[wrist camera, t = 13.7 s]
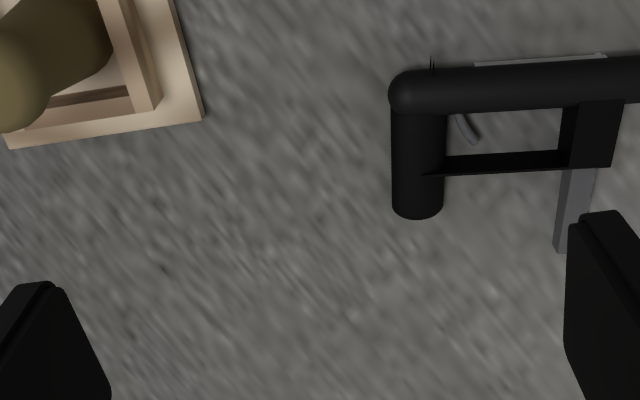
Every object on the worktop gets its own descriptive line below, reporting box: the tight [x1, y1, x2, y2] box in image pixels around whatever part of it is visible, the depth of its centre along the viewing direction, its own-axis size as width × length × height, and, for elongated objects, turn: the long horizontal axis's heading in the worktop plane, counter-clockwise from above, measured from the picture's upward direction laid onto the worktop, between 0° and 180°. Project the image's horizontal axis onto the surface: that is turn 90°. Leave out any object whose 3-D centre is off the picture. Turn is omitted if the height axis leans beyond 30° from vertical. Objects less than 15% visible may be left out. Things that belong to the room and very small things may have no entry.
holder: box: [0, 0, 205, 149], centre depth 38 cm, size 14×14×4 cm
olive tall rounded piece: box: [0, 0, 113, 133], centre depth 33 cm, size 6×6×11 cm
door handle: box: [388, 52, 640, 254], centre depth 42 cm, size 3×20×16 cm
